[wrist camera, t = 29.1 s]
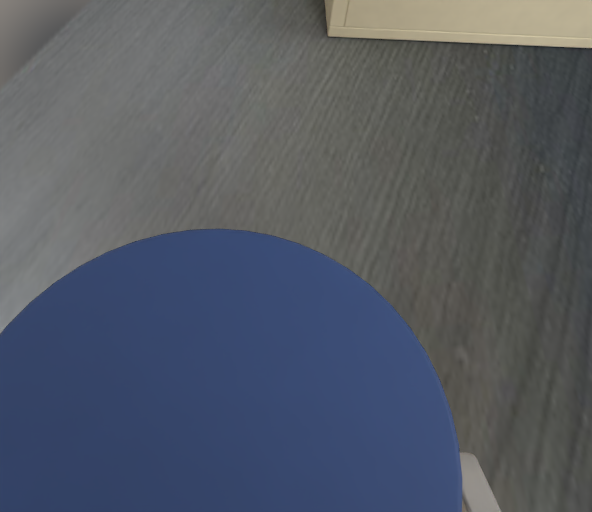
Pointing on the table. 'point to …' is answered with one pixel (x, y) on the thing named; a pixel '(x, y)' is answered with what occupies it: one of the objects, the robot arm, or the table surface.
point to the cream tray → (465, 21)
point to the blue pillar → (220, 387)
